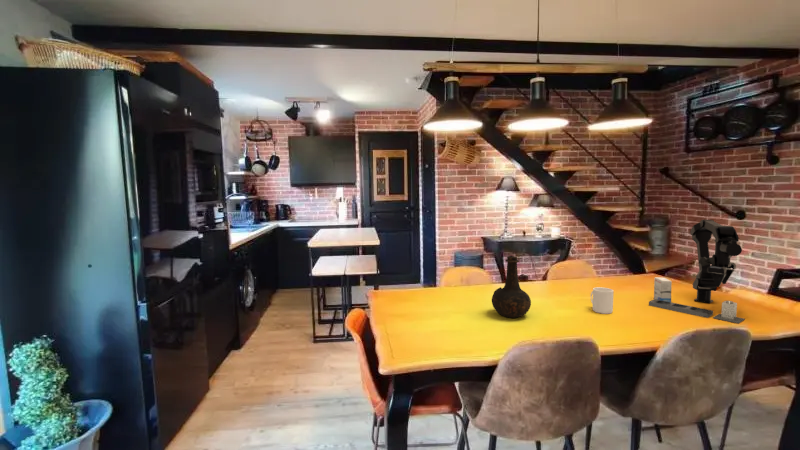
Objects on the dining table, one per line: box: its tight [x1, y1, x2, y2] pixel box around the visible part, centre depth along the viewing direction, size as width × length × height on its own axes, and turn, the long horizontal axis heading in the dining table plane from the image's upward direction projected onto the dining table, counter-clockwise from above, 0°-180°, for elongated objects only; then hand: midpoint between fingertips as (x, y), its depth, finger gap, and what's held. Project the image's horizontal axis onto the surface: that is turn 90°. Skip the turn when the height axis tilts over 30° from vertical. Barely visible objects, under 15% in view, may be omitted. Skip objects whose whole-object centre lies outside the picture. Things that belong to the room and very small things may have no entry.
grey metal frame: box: [648, 298, 714, 319], centre depth 184 cm, size 7×24×2 cm, turn 36°
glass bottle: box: [491, 255, 532, 319], centre depth 179 cm, size 18×18×28 cm
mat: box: [712, 313, 746, 325], centre depth 171 cm, size 9×9×1 cm
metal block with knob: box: [720, 300, 738, 320], centre depth 171 cm, size 4×4×8 cm
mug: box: [590, 286, 614, 315], centre depth 185 cm, size 9×12×11 cm
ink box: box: [653, 276, 673, 302], centre depth 198 cm, size 9×5×12 cm, turn 168°
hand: (720, 285), depth 180 cm, fingers open, 9 cm apart
